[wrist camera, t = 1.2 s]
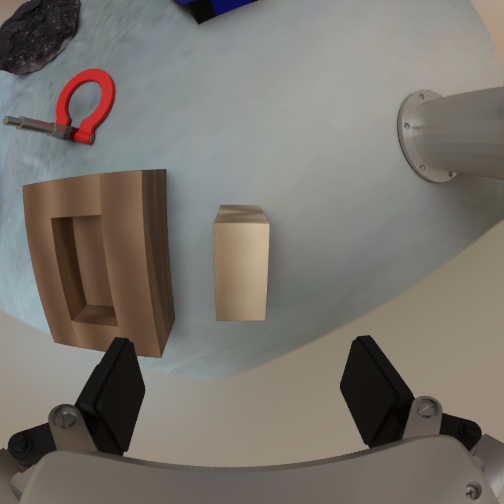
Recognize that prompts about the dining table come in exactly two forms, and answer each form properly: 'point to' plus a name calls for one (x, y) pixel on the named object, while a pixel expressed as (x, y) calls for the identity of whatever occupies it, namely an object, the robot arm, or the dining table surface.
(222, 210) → the beige wooden bar
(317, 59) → the dining table surface
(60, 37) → the black rock
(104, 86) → the tow hook
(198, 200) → the dining table surface
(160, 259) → the slotted wooden holder
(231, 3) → the alarm clock
